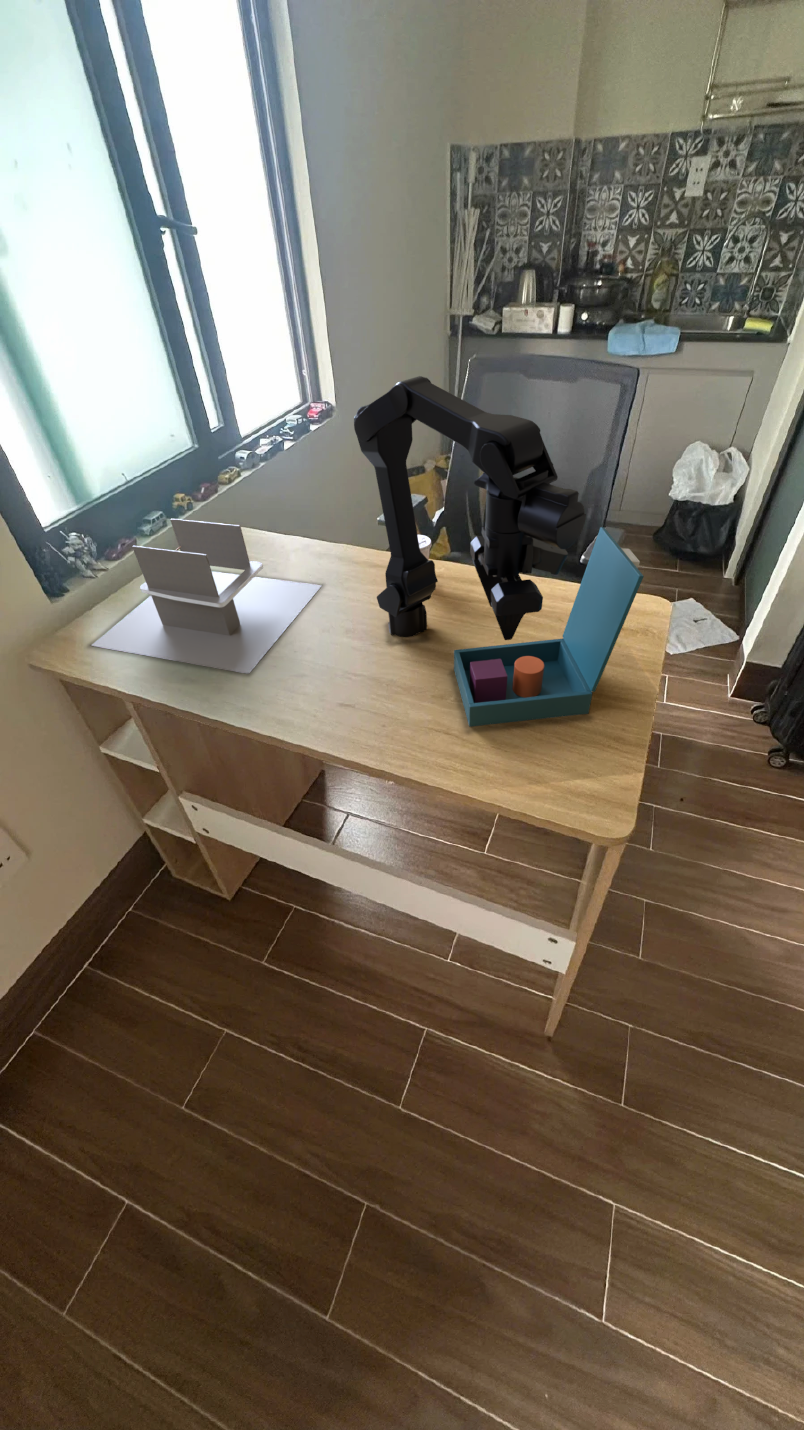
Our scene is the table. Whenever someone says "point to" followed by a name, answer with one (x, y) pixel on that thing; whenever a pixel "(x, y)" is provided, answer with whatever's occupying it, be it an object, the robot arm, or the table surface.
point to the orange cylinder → (528, 676)
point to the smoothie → (424, 545)
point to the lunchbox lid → (601, 606)
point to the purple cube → (488, 680)
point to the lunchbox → (556, 699)
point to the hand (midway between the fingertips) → (500, 622)
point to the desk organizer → (207, 602)
